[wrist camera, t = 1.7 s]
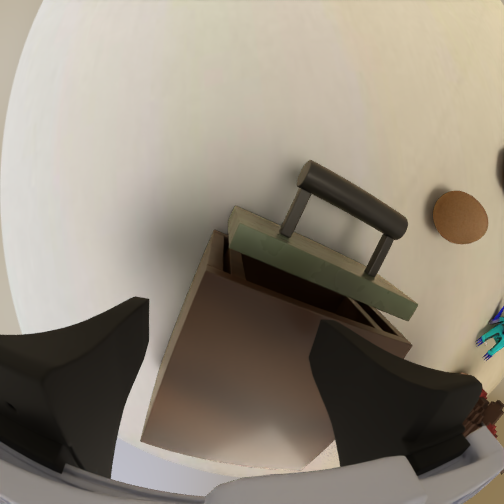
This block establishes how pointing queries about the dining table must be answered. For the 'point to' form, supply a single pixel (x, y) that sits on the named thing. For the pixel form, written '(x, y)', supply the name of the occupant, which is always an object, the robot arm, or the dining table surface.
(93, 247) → the dining table surface
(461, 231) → the egg
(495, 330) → the figurine
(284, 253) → the drawer
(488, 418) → the cake
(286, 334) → the cabinet
